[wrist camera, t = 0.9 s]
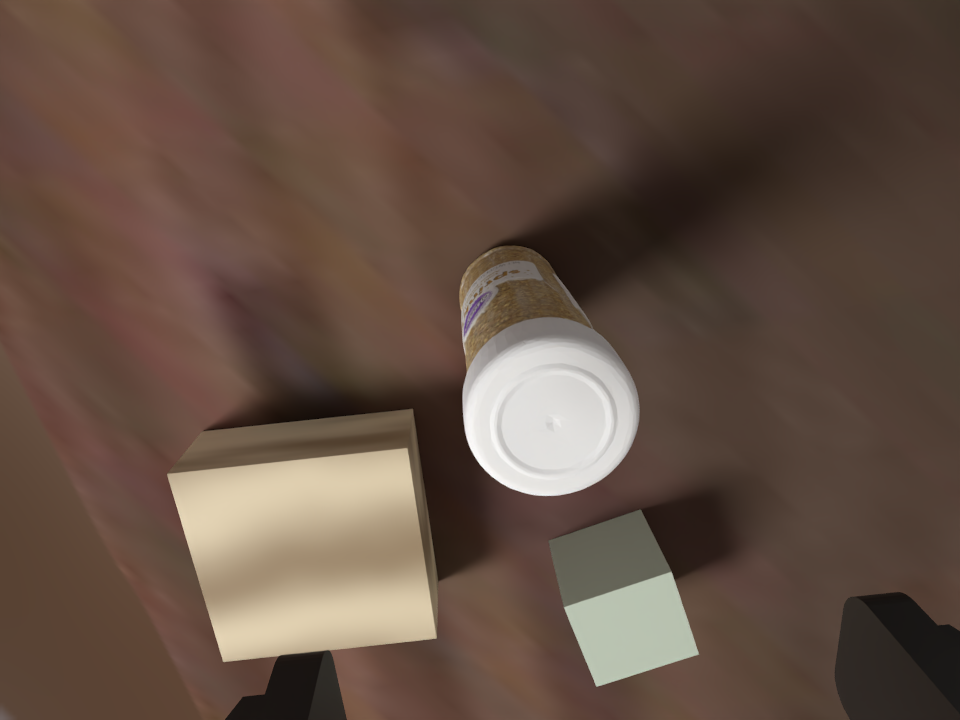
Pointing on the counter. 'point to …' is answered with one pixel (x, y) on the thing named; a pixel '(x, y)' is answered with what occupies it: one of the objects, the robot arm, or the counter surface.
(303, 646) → the beech pedestal block
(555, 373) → the sprinkles bottle
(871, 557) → the counter surface
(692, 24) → the counter surface
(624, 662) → the sage painted cube
